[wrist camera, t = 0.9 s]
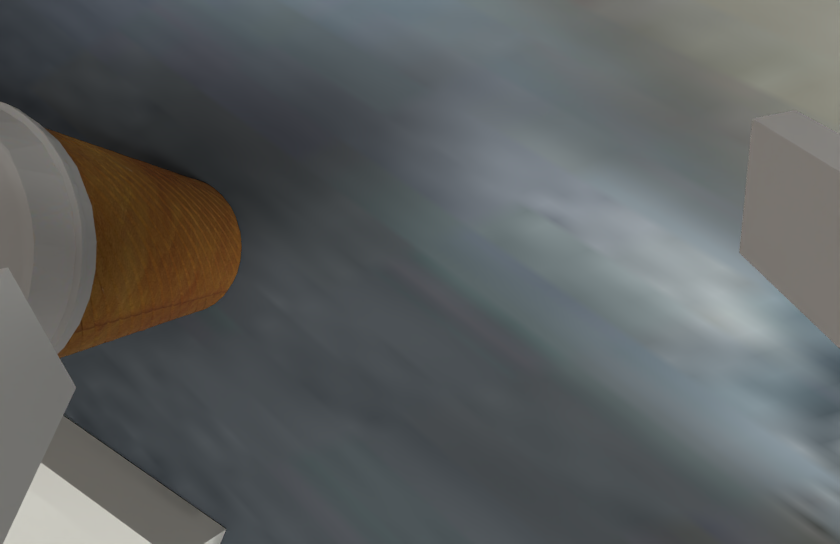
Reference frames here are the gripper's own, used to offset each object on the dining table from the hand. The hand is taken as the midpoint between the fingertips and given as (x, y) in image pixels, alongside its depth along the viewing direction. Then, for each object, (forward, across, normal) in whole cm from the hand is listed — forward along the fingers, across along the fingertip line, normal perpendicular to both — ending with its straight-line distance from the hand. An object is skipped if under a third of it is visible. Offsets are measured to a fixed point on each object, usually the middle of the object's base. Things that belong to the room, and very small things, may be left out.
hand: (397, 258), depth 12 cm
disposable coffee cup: (+19, -10, -8) cm, 23 cm away
